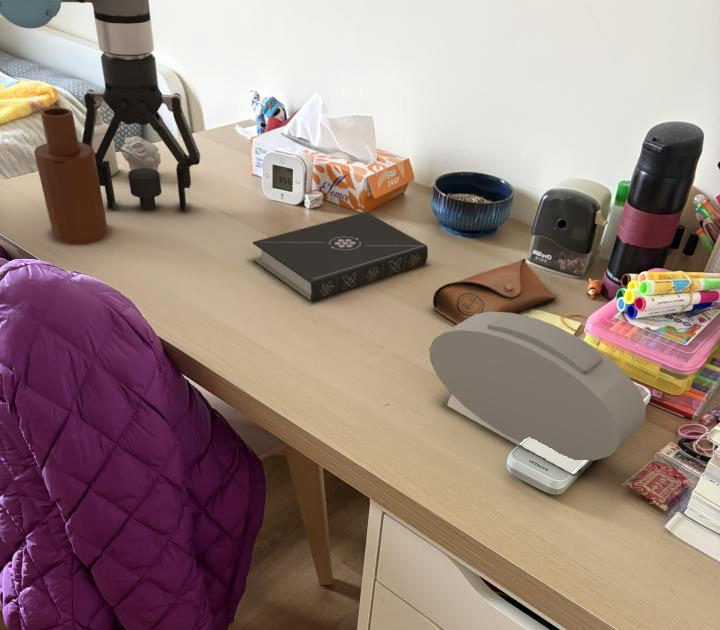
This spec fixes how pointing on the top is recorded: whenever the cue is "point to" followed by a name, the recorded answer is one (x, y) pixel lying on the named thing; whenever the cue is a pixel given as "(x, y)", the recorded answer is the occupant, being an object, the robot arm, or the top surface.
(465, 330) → the alarm clock
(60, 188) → the brown bottle
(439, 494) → the top surface
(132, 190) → the bung
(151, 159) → the frog figurine
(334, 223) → the book
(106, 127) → the eye dropper bottle
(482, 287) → the sunglasses case
